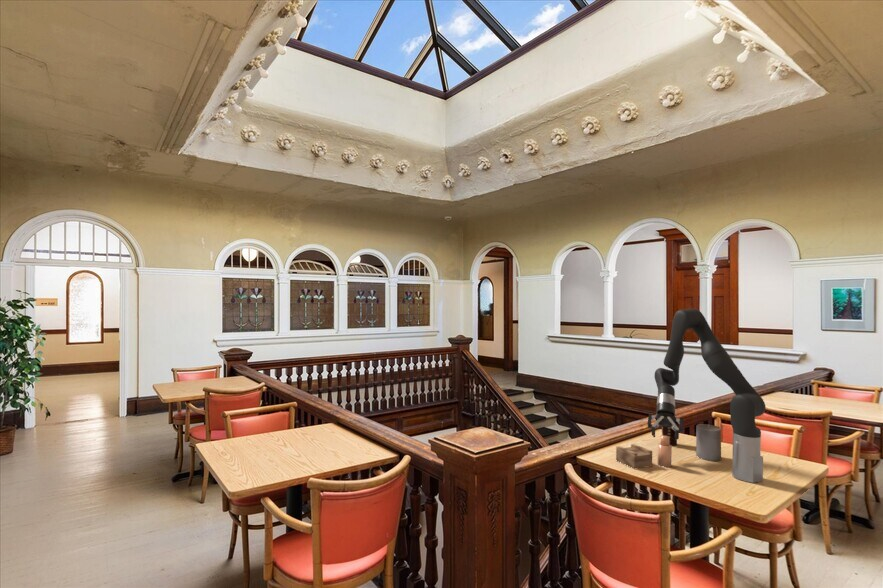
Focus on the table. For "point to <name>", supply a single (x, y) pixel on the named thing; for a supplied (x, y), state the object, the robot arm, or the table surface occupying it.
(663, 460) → the peg doll
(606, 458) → the table surface
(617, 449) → the pedestal
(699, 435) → the pillar candle
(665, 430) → the coffee cup
